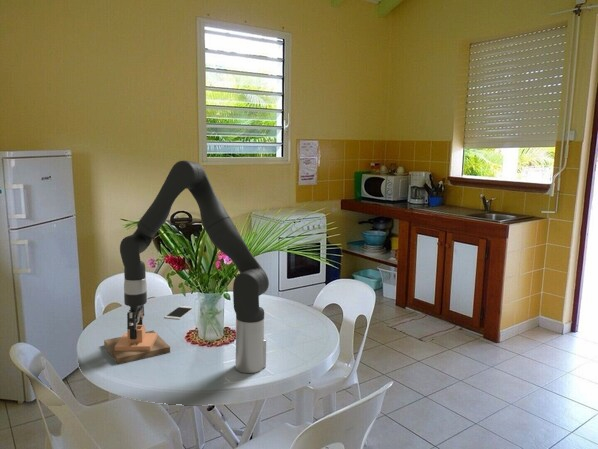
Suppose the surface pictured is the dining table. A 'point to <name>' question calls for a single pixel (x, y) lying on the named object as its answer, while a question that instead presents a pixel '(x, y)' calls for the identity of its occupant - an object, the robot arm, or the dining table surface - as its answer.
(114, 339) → the post base
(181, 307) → the smartphone
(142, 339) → the flange plate
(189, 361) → the dining table surface
